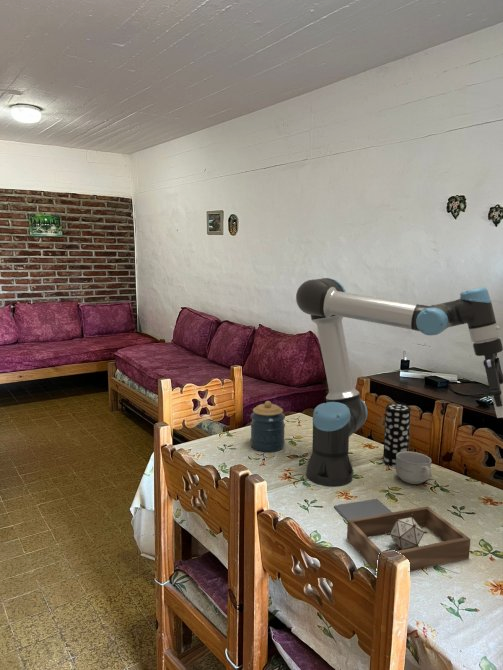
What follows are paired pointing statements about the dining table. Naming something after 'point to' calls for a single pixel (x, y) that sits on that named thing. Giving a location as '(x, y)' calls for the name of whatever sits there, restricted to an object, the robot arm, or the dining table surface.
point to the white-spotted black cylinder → (396, 432)
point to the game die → (406, 533)
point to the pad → (362, 509)
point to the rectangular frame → (419, 557)
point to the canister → (267, 428)
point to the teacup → (413, 467)
